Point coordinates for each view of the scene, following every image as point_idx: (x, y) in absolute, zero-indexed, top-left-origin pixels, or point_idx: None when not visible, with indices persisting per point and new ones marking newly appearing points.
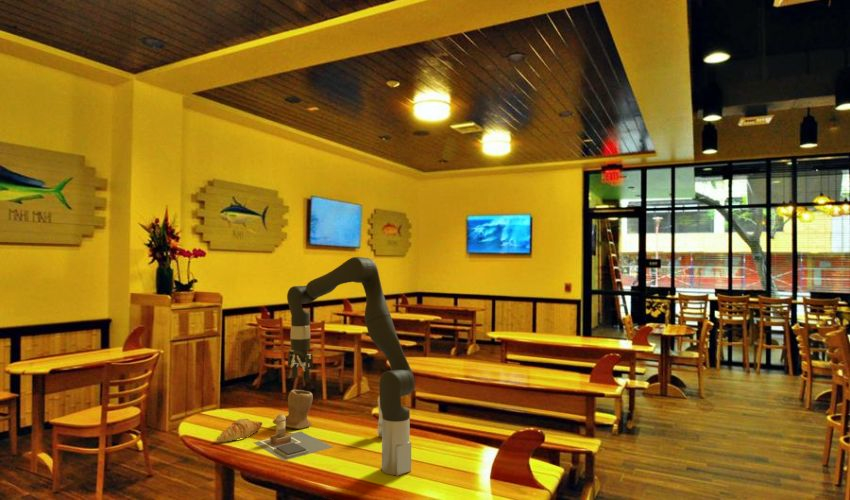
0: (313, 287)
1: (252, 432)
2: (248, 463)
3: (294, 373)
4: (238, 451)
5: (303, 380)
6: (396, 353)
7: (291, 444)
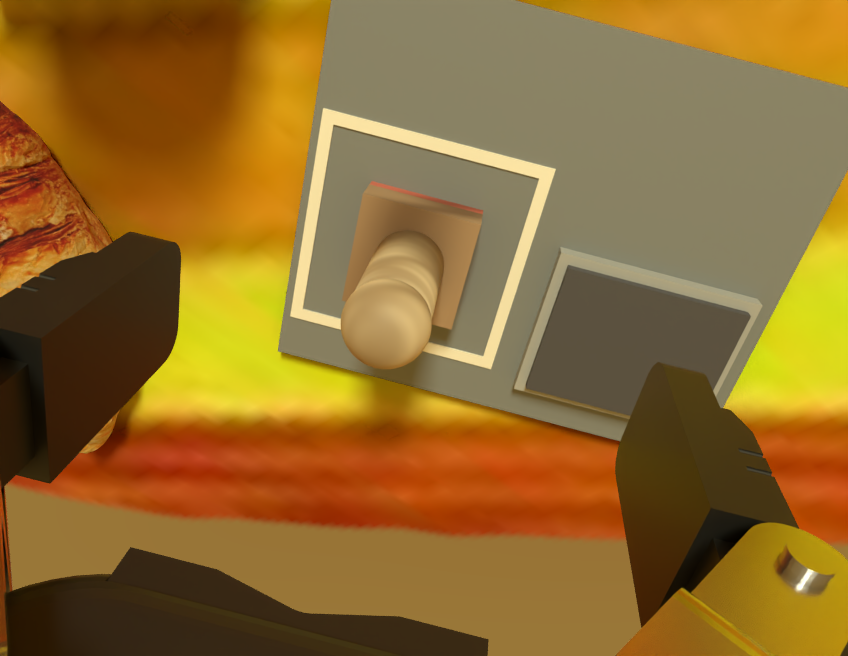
0: None
1: (101, 241)
2: (514, 533)
3: (131, 354)
4: (314, 453)
5: (620, 461)
6: None
7: (582, 304)
